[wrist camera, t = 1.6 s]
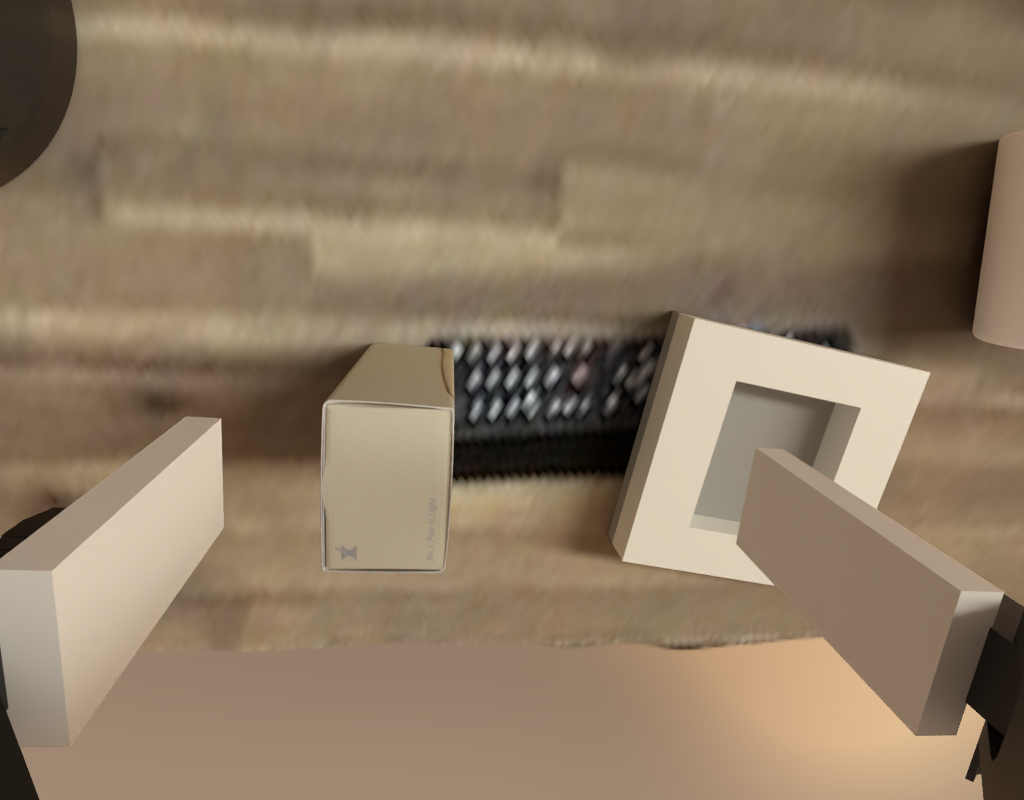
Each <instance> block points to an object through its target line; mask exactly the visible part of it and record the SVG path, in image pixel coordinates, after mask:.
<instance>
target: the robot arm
mask: <svg viewBox="0 0 1024 800" xmlns="http://www.w3.org/2000/svg"><path fill="white" fill-rule="evenodd" d="M76 64H77V37H76V27H75V18H74V13H73V8H72V3H71V0H0V186H2V185H4V184H5V183H7V182H9V181H10V180H12V179H13V178H15V177H16V176H18V175H19V174H20V173H22V172H23V171H24V170H25V169H27V168H28V167H29V166H30V165H31V164H32V163H33V162H34V161H35V160H36V159H37V158H38V157H39V156H40V155H41V153H42V152H43V151H44V150H45V149H46V147H47V146H48V144H49V143H50V142H51V140H52V139H53V137H54V135H55V134H56V132H57V130H58V129H59V127H60V125H61V122H62V120H63V118H64V116H65V113H66V111H67V108H68V105H69V102H70V98H71V95H72V91H73V86H74V81H75V74H76ZM223 528H224V510H223V471H222V432H221V418H205V417H187V416H186V417H184V418H183V419H182V420H181V421H179V422H178V423H177V424H175V425H174V426H173V427H171V428H170V429H169V430H168V431H166V432H165V433H164V434H162V435H161V436H160V437H158V438H157V439H156V440H154V441H153V442H152V443H151V444H149V445H148V446H147V447H145V448H144V449H143V450H141V451H140V452H139V453H138V454H136V455H135V456H134V457H132V458H131V459H130V460H128V461H127V462H126V463H124V464H123V465H122V466H121V467H119V468H118V469H117V470H115V471H114V472H113V473H111V474H110V475H109V476H107V477H106V478H105V479H104V480H102V481H101V482H100V483H98V484H97V485H96V486H94V487H93V488H92V489H91V490H89V491H88V492H87V493H85V494H84V495H83V496H81V497H80V498H79V499H77V500H76V501H75V502H74V503H72V504H71V505H70V506H68V507H67V508H52V509H49V510H47V511H44V512H42V513H39V514H37V515H34V516H32V517H30V518H27V519H25V520H23V521H21V522H20V523H18V524H17V525H16V526H14V527H13V528H11V529H10V530H9V531H7V532H6V533H4V534H3V535H2V537H1V539H0V800H39V798H38V795H37V792H36V790H35V787H34V784H33V782H32V779H31V776H30V773H29V771H28V768H27V765H26V763H25V760H24V757H23V755H22V752H21V749H20V747H66V746H67V747H68V746H71V745H72V743H73V742H74V741H75V739H76V738H77V736H78V735H79V733H80V732H81V731H82V729H83V728H84V726H85V725H86V723H87V722H88V721H89V719H90V718H91V716H92V715H93V713H94V712H95V710H96V709H97V707H98V706H99V705H100V703H101V702H102V701H103V699H104V698H105V696H106V695H107V693H108V692H109V691H110V689H111V687H112V686H113V685H114V683H115V682H116V681H117V679H118V678H119V676H120V675H121V674H122V672H123V671H124V669H125V668H126V666H127V665H128V664H129V662H130V661H131V659H132V658H133V656H134V655H135V654H136V652H137V651H138V649H139V648H140V646H141V645H142V644H143V642H144V641H145V639H146V638H147V636H148V635H149V634H150V632H151V631H152V629H153V628H154V626H155V625H156V624H157V622H158V621H159V619H160V618H161V616H162V615H163V614H164V612H165V611H166V609H167V608H168V607H169V605H170V604H171V602H172V601H173V599H174V598H175V597H176V595H177V594H178V592H179V591H180V589H181V588H182V587H183V585H184V584H185V582H186V581H187V579H188V578H189V577H190V575H191V574H192V572H193V571H194V569H195V568H196V567H197V565H198V564H199V562H200V561H201V559H202V558H203V557H204V555H205V554H206V552H207V551H208V549H209V548H210V547H211V545H212V544H213V542H214V541H215V540H216V538H217V537H218V535H219V534H220V532H221V531H222V530H223ZM736 545H737V546H738V547H739V548H740V549H741V550H742V551H743V552H744V553H745V554H746V555H747V556H748V557H749V558H750V560H751V561H752V562H753V563H754V564H755V565H756V566H757V567H758V568H759V569H760V570H761V571H762V572H763V573H764V574H765V576H766V577H767V578H768V579H769V580H770V581H771V582H772V583H773V584H774V585H775V586H776V587H777V588H778V589H779V590H780V592H781V593H782V594H783V595H784V596H785V597H786V598H787V599H788V600H789V601H790V602H791V603H792V604H793V605H794V607H795V608H796V609H797V610H798V611H799V612H800V613H801V614H802V615H803V616H804V617H805V618H806V619H807V620H808V621H809V623H810V624H811V625H812V626H813V627H814V628H815V629H816V630H817V631H818V632H819V633H820V634H821V635H822V636H823V637H824V639H825V640H826V641H827V642H828V643H829V644H830V645H831V646H832V647H833V648H834V649H835V650H836V651H837V652H838V653H839V655H840V656H841V657H842V658H843V659H844V660H845V661H846V662H847V663H848V664H849V665H850V666H851V667H852V668H853V670H854V671H855V672H856V673H857V674H858V675H859V676H860V677H861V678H862V679H863V680H864V681H865V682H866V683H867V684H868V686H869V687H871V689H872V690H873V691H874V692H875V693H876V694H877V695H878V696H879V697H880V698H881V699H882V700H883V702H884V703H885V704H886V705H887V706H888V707H889V708H890V709H891V710H892V711H893V712H894V713H895V714H896V715H897V716H898V718H899V719H900V720H901V721H902V722H903V723H904V724H905V725H906V726H907V727H908V728H909V729H910V730H911V731H912V732H913V734H914V735H916V736H928V735H929V736H931V735H933V736H934V735H956V734H957V731H958V728H959V725H960V722H961V719H962V716H963V713H964V710H965V707H966V704H968V705H970V706H971V707H972V708H973V709H974V710H975V711H976V712H977V713H979V714H980V715H981V716H982V717H983V718H984V719H985V723H984V726H983V729H982V732H981V735H980V738H979V740H978V743H977V746H976V749H975V752H974V755H973V758H972V760H971V763H970V767H969V769H968V772H967V775H966V779H968V780H970V781H972V782H973V781H974V779H975V777H976V775H978V774H981V775H982V787H983V798H984V800H1024V607H1023V606H1021V605H1020V604H1018V603H1017V602H1015V601H1014V600H1012V599H1011V598H1009V597H1008V596H1006V595H1005V594H1004V592H1003V591H1002V590H1000V589H999V588H997V587H996V586H994V585H993V584H991V583H989V582H988V581H986V580H985V579H983V578H982V577H980V576H979V575H977V574H976V573H974V572H972V571H971V570H969V569H968V568H966V567H965V566H963V565H962V564H960V563H959V562H957V561H955V560H954V559H952V558H951V557H949V556H948V555H946V554H945V553H943V552H942V551H940V550H938V549H937V548H935V547H934V546H932V545H931V544H929V543H928V542H926V541H925V540H923V539H922V538H920V537H918V536H917V535H915V534H914V533H912V532H911V531H909V530H908V529H906V528H905V527H903V526H901V525H900V524H898V523H897V522H895V521H894V520H892V519H891V518H889V517H888V516H886V515H884V514H883V513H881V512H880V511H878V510H877V509H875V508H874V507H872V506H871V505H869V504H868V503H866V502H864V501H863V500H861V499H860V498H858V497H857V496H855V495H854V494H852V493H851V492H849V491H847V490H846V489H844V488H843V487H841V486H840V485H838V484H837V483H835V482H834V481H832V480H830V479H829V478H827V477H826V476H824V475H823V474H821V473H820V472H818V471H817V470H815V469H813V468H812V467H810V466H809V465H807V464H806V463H804V462H803V461H801V460H800V459H798V458H797V457H795V456H793V455H792V454H790V453H789V452H787V451H786V450H784V449H775V448H756V449H755V454H754V458H753V463H752V468H751V473H750V478H749V483H748V487H747V492H746V497H745V502H744V507H743V512H742V516H741V521H740V526H739V531H738V536H737V541H736Z"/></svg>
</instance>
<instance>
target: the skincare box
mask: <svg viewBox="0 0 1024 800" xmlns="http://www.w3.org/2000/svg"><path fill="white" fill-rule="evenodd" d="M453 447H454V364H453V350H452V349H446V348H434V347H424V346H410V345H395V344H376V343H374V344H371V345H370V346H369V348H368V349H367V350H366V351H365V353H364V354H363V355H362V356H361V358H360V359H359V360H358V361H357V363H356V364H355V365H354V366H353V368H352V369H351V370H350V371H349V373H348V374H347V375H346V376H345V377H344V379H343V380H342V381H341V382H340V384H339V385H338V386H337V387H336V389H335V390H334V391H333V392H332V394H331V395H330V396H329V397H328V398H327V400H326V401H325V402H324V404H323V407H322V428H321V466H320V520H321V568H322V571H323V572H344V573H347V572H349V573H395V574H425V573H442V572H443V571H444V570H445V564H446V556H447V547H448V536H449V524H450V510H451V492H452V473H453Z"/></svg>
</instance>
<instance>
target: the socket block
mask: <svg viewBox="0 0 1024 800" xmlns="http://www.w3.org/2000/svg"><path fill="white" fill-rule="evenodd" d="M929 375H930V372H926V371H923V370H919V369H916V368H912V367H909V366H905V365H902V364H898V363H895V362H892V361H888V360H883V359H879V358H875V357H870V356H866V355H862V354H857V353H853V352H849V351H845V350H840V349H836V348H832V347H827V346H823V345H819V344H814V343H810V342H806V341H801V340H797V339H793V338H788V337H784V336H780V335H776V334H771V333H767V332H763V331H758V330H754V329H750V328H745V327H741V326H737V325H732V324H728V323H724V322H720V321H715V320H711V319H707V318H702V317H698V316H694V315H689V314H685V313H681V312H676V311H672V315H671V318H670V321H669V325H668V328H667V332H666V335H665V339H664V342H663V346H662V349H661V352H660V356H659V359H658V363H657V366H656V370H655V373H654V377H653V380H652V383H651V387H650V390H649V394H648V397H647V401H646V404H645V408H644V411H643V414H642V418H641V421H640V425H639V428H638V432H637V435H636V439H635V442H634V445H633V449H632V452H631V456H630V459H629V463H628V466H627V470H626V473H625V476H624V480H623V483H622V487H621V490H620V494H619V497H618V501H617V504H616V507H615V511H614V514H613V518H612V521H611V525H610V528H609V532H608V536H609V538H610V540H611V542H612V543H613V545H614V547H615V549H616V551H617V553H618V554H619V556H620V558H621V560H622V561H624V562H631V563H637V564H643V565H649V566H656V567H662V568H668V569H674V570H680V571H687V572H693V573H699V574H705V575H712V576H718V577H724V578H730V579H737V580H743V581H749V582H755V583H762V584H768V585H774V584H773V583H772V582H771V581H770V580H769V579H768V578H767V577H766V576H765V574H764V573H763V572H762V571H761V570H760V569H759V568H758V567H757V566H756V565H755V564H754V563H753V562H752V561H751V560H750V558H749V557H748V556H747V555H746V554H745V553H744V552H743V551H742V550H741V549H740V548H739V547H738V546H737V545H736V541H737V536H738V531H739V526H740V521H741V516H742V512H743V507H744V502H745V497H746V492H747V487H748V483H749V478H750V473H751V468H752V463H753V458H754V454H755V449H756V448H775V449H784V450H786V451H787V452H789V453H790V454H792V455H793V456H795V457H797V458H798V459H800V460H801V461H803V462H804V463H806V464H807V465H809V466H810V467H812V468H813V469H815V470H817V471H818V472H820V473H821V474H823V475H824V476H826V477H827V478H829V479H830V480H832V481H834V482H835V483H837V484H838V485H840V486H841V487H843V488H844V489H846V490H847V491H849V492H851V493H852V494H854V495H855V496H857V497H858V498H860V499H861V500H863V501H864V502H866V503H868V504H869V505H871V506H872V507H874V508H875V509H877V506H878V504H879V501H880V499H881V496H882V494H883V491H884V489H885V486H886V484H887V481H888V479H889V476H890V474H891V471H892V468H893V466H894V463H895V461H896V458H897V456H898V453H899V451H900V448H901V446H902V443H903V441H904V438H905V436H906V433H907V431H908V428H909V425H910V423H911V420H912V418H913V415H914V413H915V410H916V408H917V405H918V403H919V400H920V398H921V395H922V393H923V390H924V388H925V385H926V382H927V380H928V377H929ZM774 586H775V585H774Z"/></svg>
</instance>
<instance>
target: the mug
mask: <svg viewBox="0 0 1024 800" xmlns="http://www.w3.org/2000/svg"><path fill="white" fill-rule="evenodd" d="M972 333H973V335H974V336H975V337H976V338H978V339H980V340H982V341H985V342H988V343H992V344H996V345H1001V346H1006V347H1011V348H1018V349H1024V130H1022V131H1017V132H1013V133H1010V134H1007V135H1005V136H1003V137H1002V138H1001V139H1000V140H999V145H998V152H997V159H996V166H995V173H994V180H993V187H992V194H991V201H990V209H989V216H988V223H987V230H986V237H985V244H984V251H983V258H982V265H981V272H980V280H979V287H978V294H977V301H976V308H975V315H974V322H973V329H972Z"/></svg>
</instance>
